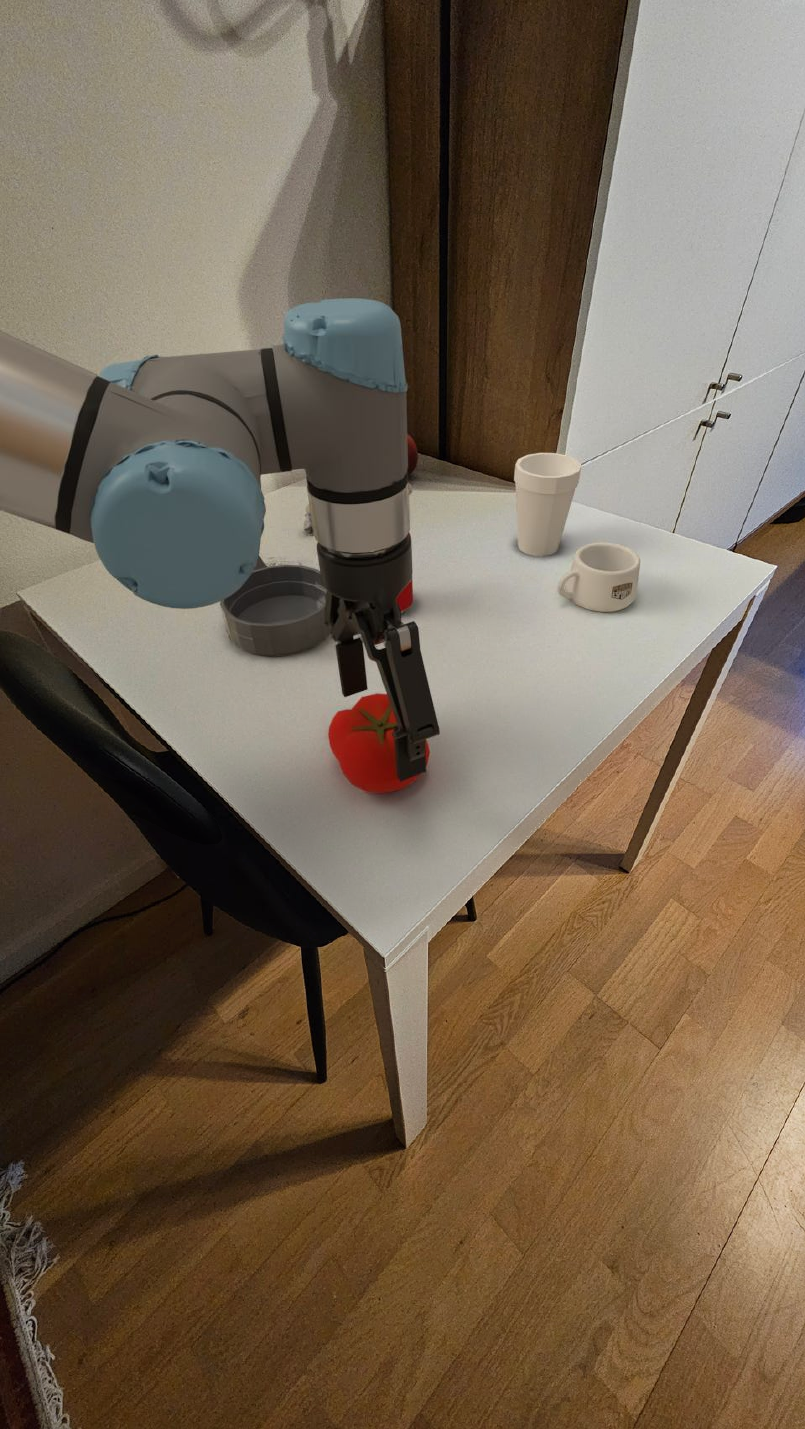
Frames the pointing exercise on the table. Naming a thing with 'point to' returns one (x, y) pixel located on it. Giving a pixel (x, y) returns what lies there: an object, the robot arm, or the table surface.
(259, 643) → the pan
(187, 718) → the table surface
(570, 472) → the foam cup
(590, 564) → the mug
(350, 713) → the tomato
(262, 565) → the pan handle
